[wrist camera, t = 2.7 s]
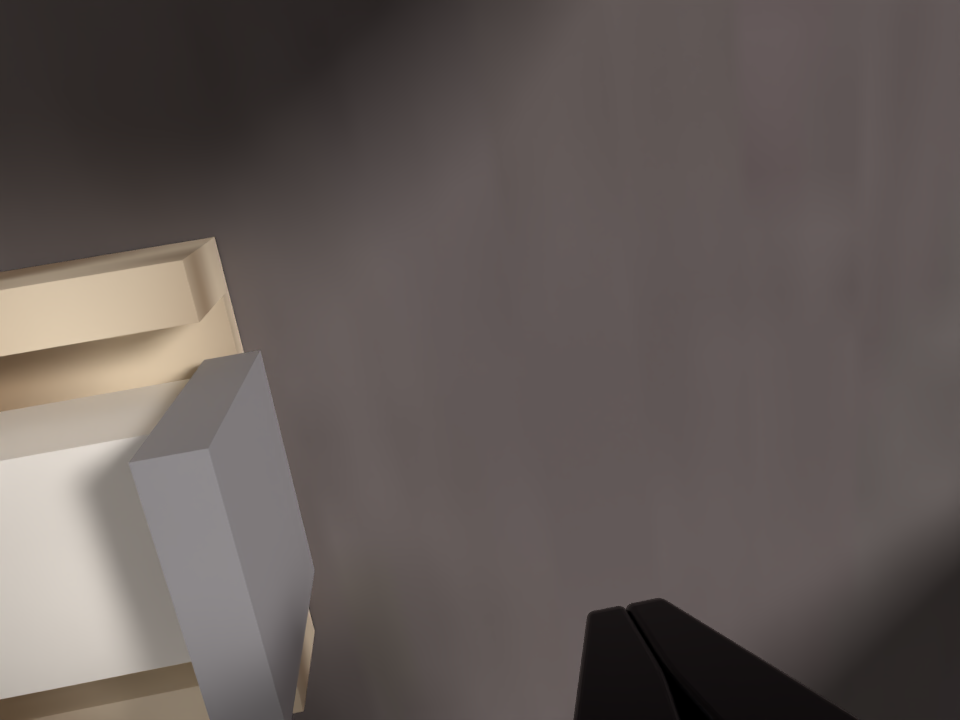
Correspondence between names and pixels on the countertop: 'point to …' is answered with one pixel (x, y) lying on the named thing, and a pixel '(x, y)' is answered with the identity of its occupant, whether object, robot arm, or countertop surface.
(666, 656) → the robot arm
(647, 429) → the countertop surface
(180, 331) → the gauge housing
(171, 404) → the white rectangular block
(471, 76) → the countertop surface
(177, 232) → the countertop surface
